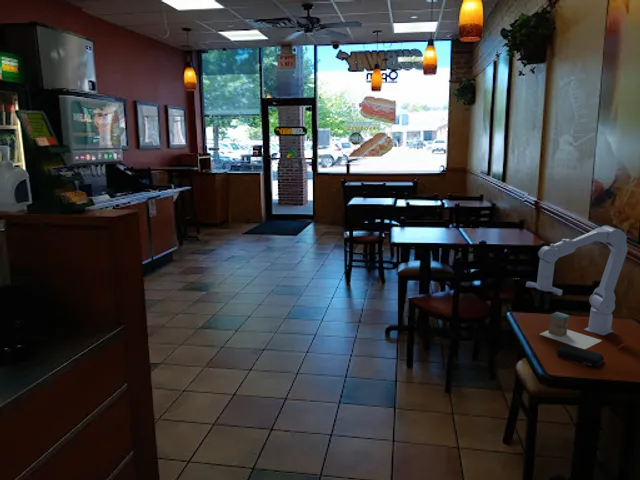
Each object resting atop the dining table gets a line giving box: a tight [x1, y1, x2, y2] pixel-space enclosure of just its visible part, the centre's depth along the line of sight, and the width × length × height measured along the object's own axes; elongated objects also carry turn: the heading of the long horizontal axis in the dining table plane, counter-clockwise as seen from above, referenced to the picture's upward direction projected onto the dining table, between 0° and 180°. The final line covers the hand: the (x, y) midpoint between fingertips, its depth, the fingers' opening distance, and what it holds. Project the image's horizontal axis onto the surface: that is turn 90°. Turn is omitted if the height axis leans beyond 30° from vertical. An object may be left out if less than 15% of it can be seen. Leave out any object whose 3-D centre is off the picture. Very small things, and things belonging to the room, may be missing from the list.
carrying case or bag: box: [555, 343, 605, 368], centre depth 184 cm, size 11×3×15 cm
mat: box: [539, 328, 602, 350], centre depth 203 cm, size 15×18×1 cm
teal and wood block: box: [548, 311, 570, 337], centre depth 205 cm, size 5×5×8 cm
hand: (541, 307), depth 210 cm, fingers open, 3 cm apart
